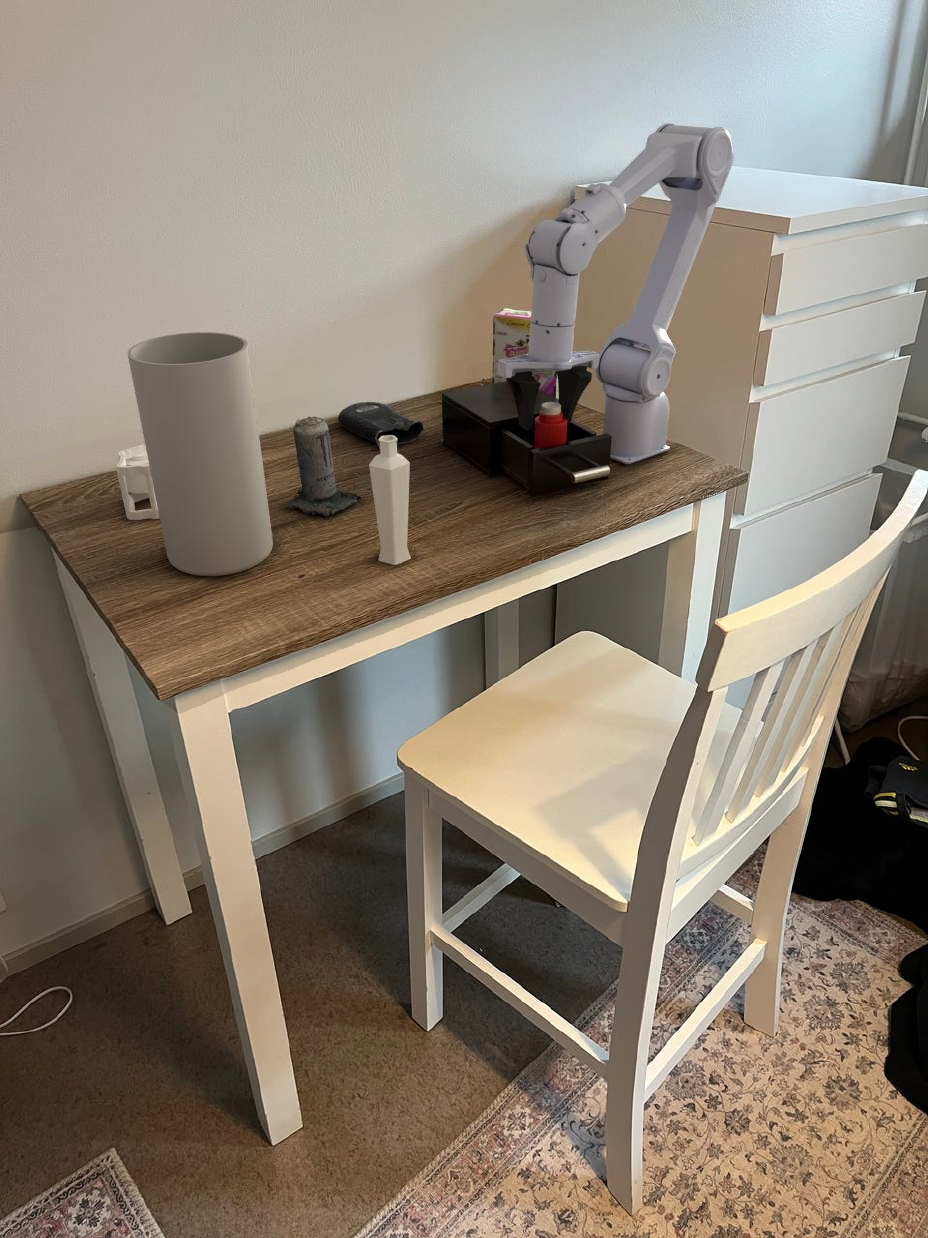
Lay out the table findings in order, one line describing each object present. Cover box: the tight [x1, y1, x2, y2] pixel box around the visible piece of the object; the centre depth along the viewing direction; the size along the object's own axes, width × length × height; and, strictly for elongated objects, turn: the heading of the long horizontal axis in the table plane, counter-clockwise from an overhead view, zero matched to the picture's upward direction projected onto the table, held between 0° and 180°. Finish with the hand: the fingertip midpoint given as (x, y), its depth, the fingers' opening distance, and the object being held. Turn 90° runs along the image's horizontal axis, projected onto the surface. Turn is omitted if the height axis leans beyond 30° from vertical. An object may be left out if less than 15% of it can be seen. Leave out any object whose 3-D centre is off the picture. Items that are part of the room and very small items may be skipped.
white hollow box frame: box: [115, 443, 160, 521], centre depth 128 cm, size 20×11×7 cm, turn 123°
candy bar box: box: [491, 308, 559, 399], centre depth 151 cm, size 11×5×16 cm, turn 66°
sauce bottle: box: [534, 402, 567, 449], centre depth 130 cm, size 4×4×9 cm
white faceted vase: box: [368, 435, 412, 566], centre depth 110 cm, size 5×4×15 cm
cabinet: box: [441, 381, 558, 478], centre depth 140 cm, size 15×14×8 cm
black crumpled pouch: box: [337, 401, 425, 450], centre depth 149 cm, size 9×6×15 cm
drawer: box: [494, 418, 612, 498], centre depth 130 cm, size 18×12×6 cm
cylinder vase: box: [127, 331, 274, 577], centre depth 108 cm, size 12×12×25 cm
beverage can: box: [287, 415, 363, 518], centre depth 123 cm, size 9×8×12 cm
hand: (544, 425), depth 128 cm, fingers open, 5 cm apart
